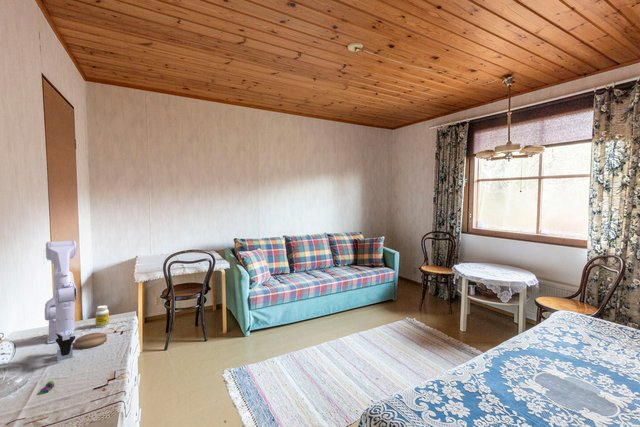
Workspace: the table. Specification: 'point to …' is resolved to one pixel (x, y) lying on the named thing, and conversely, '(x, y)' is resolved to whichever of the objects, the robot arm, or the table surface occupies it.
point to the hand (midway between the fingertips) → (64, 351)
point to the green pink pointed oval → (46, 388)
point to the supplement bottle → (102, 316)
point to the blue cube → (60, 357)
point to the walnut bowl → (90, 340)
